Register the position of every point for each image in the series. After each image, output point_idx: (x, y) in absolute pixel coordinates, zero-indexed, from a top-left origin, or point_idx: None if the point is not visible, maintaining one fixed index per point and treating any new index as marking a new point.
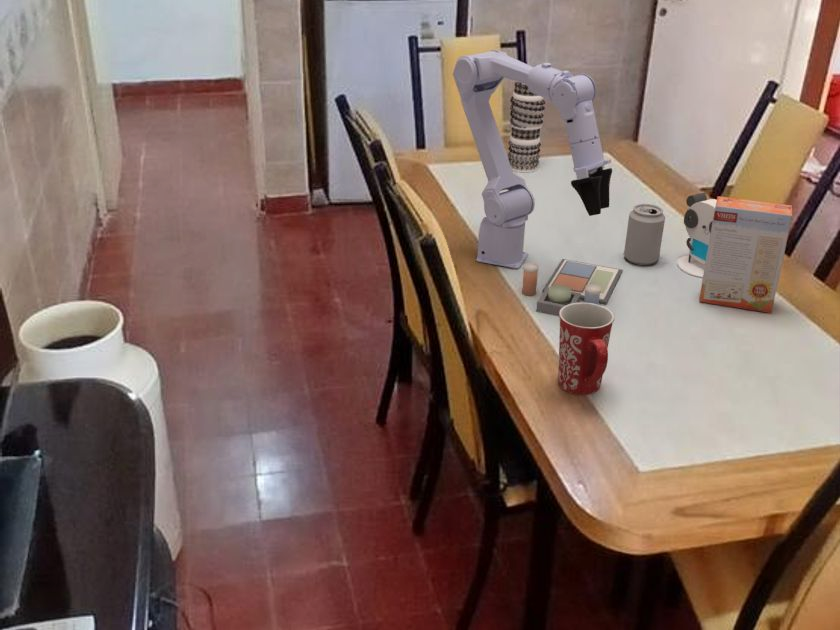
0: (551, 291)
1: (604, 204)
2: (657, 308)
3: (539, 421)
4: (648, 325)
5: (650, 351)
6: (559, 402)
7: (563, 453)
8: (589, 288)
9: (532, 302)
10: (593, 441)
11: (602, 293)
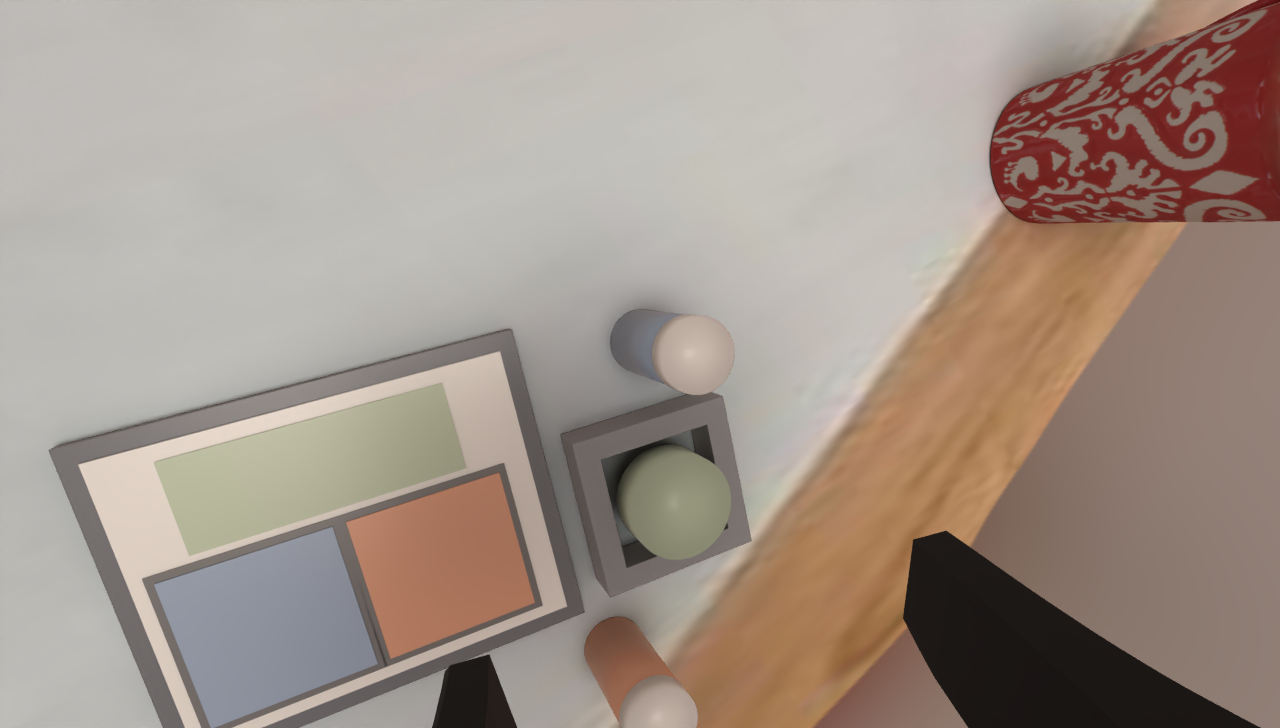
0: (718, 527)
1: (499, 721)
2: (371, 98)
3: None
4: (566, 81)
5: (758, 4)
6: None
7: None
8: (719, 364)
9: (678, 580)
10: (1218, 9)
11: (446, 385)
